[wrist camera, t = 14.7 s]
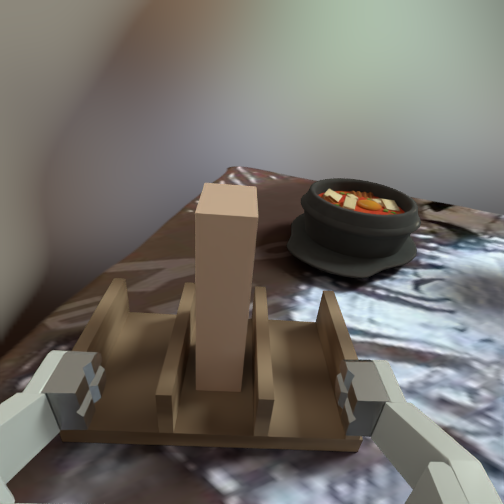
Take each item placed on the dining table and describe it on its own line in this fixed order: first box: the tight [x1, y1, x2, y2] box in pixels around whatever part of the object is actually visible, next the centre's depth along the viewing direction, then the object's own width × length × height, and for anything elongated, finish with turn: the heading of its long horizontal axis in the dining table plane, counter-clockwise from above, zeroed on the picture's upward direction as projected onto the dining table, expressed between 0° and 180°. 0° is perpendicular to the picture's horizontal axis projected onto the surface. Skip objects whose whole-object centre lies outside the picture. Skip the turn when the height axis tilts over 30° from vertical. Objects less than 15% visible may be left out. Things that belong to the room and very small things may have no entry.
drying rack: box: [59, 278, 363, 452], centre depth 28 cm, size 12×21×6 cm, turn 91°
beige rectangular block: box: [195, 183, 258, 392], centre depth 25 cm, size 5×4×15 cm
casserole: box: [287, 178, 421, 278], centre depth 50 cm, size 25×19×8 cm
